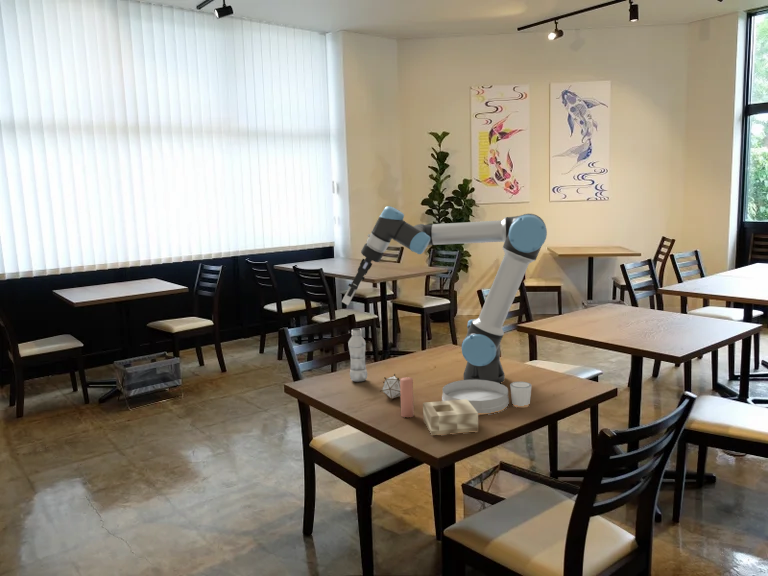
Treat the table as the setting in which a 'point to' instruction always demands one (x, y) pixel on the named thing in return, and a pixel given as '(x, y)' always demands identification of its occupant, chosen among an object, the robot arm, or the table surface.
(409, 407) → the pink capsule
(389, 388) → the game die
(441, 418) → the birch block
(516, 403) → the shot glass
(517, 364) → the table surface
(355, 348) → the plastic bottle
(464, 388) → the dish
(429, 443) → the table surface
